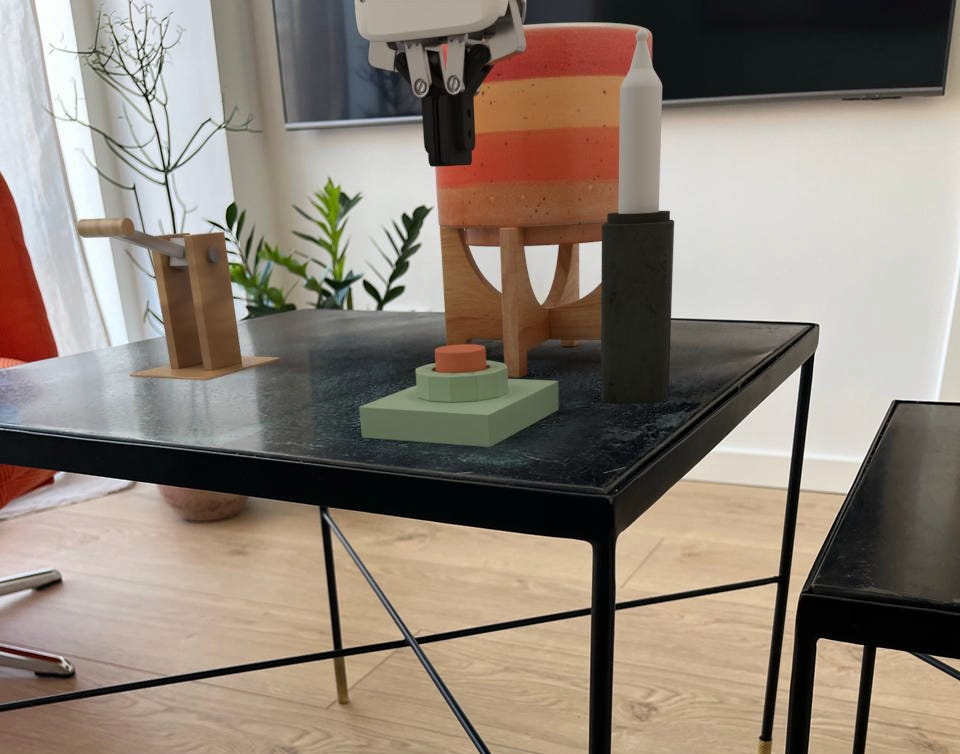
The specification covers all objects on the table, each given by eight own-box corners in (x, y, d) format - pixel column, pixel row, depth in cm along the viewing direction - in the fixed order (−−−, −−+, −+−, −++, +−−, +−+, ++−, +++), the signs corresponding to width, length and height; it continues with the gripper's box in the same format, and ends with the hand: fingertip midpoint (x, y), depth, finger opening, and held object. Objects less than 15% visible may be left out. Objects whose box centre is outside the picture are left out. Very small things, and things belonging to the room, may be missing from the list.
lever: (121, 240, 82) (122, 209, 81) (76, 241, 84) (76, 210, 83) (221, 272, 92) (222, 244, 92) (179, 272, 94) (179, 245, 94)
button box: (489, 447, 67) (487, 386, 65) (361, 438, 71) (356, 380, 69) (558, 410, 77) (558, 356, 75) (442, 403, 81) (439, 352, 79)
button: (472, 379, 70) (471, 353, 69) (427, 376, 72) (425, 351, 71) (494, 369, 73) (494, 344, 72) (450, 368, 75) (449, 343, 74)
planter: (623, 381, 86) (627, 12, 75) (409, 376, 93) (384, 37, 81) (667, 344, 103) (677, 39, 92) (484, 342, 109) (472, 57, 98)
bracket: (207, 391, 90) (183, 237, 85) (131, 387, 94) (104, 239, 89) (281, 370, 99) (264, 229, 94) (209, 366, 103) (189, 231, 98)
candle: (605, 390, 82) (608, 36, 72) (669, 390, 81) (681, 30, 71) (599, 403, 78) (601, 27, 68) (666, 403, 77) (678, 21, 67)
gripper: (290, -174, 59) (324, 172, 67) (524, -228, 53) (532, 160, 61) (359, -144, 65) (383, 170, 73) (576, -189, 59) (577, 159, 67)
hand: (450, 164), depth 67 cm, fingers closed
